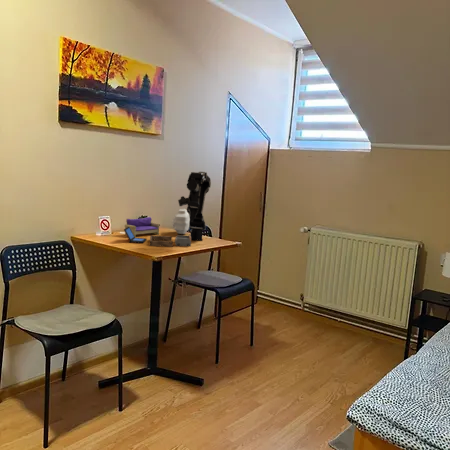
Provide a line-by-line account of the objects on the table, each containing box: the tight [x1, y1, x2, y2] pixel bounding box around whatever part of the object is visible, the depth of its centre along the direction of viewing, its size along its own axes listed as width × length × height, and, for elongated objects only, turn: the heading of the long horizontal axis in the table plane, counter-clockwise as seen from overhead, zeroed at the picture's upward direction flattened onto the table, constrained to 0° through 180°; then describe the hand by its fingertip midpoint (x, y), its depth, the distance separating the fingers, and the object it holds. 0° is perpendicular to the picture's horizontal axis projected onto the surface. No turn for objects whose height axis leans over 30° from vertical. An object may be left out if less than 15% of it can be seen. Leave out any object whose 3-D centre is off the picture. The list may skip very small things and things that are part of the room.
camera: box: [171, 208, 190, 235], centre depth 289 cm, size 11×18×16 cm, turn 178°
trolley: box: [174, 233, 192, 247], centre depth 254 cm, size 8×12×5 cm, turn 8°
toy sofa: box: [124, 216, 161, 238], centre depth 275 cm, size 21×9×10 cm, turn 143°
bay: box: [149, 235, 173, 248], centre depth 252 cm, size 12×18×2 cm, turn 8°
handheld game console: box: [123, 227, 147, 245], centre depth 253 cm, size 12×11×7 cm
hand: (191, 222), depth 252 cm, fingers open, 9 cm apart
